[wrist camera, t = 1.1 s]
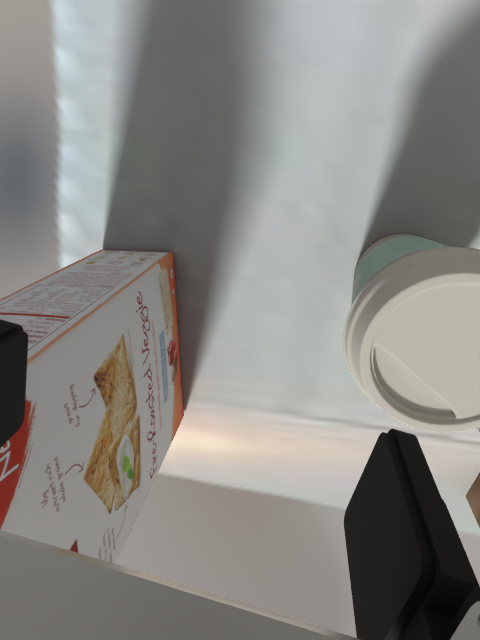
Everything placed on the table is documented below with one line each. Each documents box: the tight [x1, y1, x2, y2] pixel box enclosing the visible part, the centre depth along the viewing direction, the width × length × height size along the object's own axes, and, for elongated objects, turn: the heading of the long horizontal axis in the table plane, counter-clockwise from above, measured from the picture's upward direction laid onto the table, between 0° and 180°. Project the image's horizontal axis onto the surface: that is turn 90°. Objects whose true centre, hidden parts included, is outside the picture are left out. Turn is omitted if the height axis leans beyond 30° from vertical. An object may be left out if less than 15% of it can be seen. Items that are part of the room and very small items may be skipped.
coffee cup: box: [343, 234, 480, 432], centre depth 23 cm, size 8×8×12 cm
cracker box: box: [0, 250, 184, 564], centre depth 24 cm, size 14×6×21 cm, turn 0°
